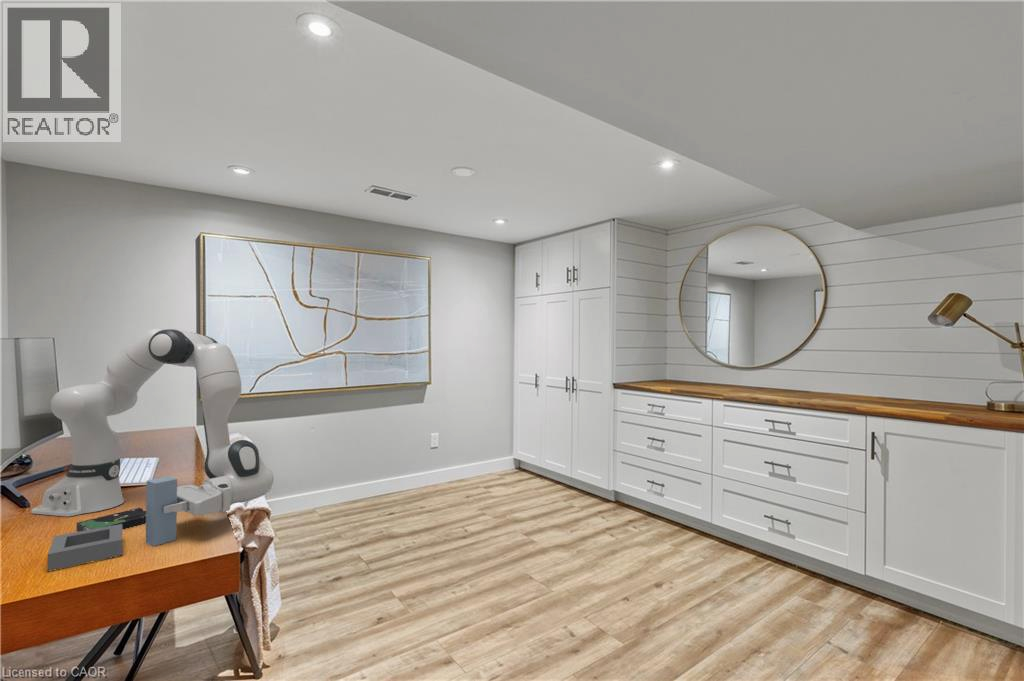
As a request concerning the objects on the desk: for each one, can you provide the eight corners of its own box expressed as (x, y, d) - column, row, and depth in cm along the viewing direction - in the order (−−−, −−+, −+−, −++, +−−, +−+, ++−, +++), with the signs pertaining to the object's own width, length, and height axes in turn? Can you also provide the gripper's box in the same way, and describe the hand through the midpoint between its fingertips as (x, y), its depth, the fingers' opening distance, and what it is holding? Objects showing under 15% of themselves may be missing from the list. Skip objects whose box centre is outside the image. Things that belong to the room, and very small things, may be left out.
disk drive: (139, 516, 143) (75, 532, 130) (139, 507, 143) (75, 521, 130) (155, 523, 137) (90, 540, 125) (155, 513, 137) (90, 529, 125)
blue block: (145, 542, 123) (146, 480, 123) (167, 535, 127) (168, 476, 127) (153, 546, 120) (154, 483, 120) (176, 539, 124) (177, 479, 124)
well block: (53, 552, 116) (53, 536, 116) (122, 539, 124) (122, 523, 125) (47, 572, 106) (47, 554, 106) (122, 556, 114) (122, 539, 115)
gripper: (197, 476, 140) (141, 488, 128) (233, 488, 129) (175, 502, 117) (196, 498, 140) (140, 511, 128) (232, 511, 129) (174, 527, 117)
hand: (157, 507), depth 123 cm, fingers closed on blue block, 5 cm apart
